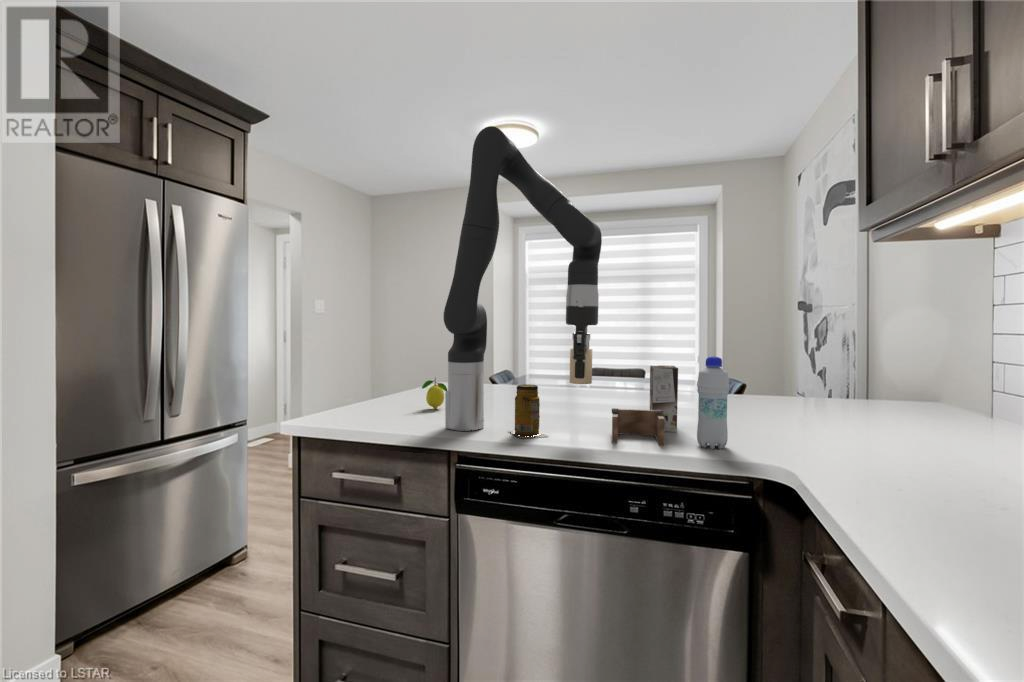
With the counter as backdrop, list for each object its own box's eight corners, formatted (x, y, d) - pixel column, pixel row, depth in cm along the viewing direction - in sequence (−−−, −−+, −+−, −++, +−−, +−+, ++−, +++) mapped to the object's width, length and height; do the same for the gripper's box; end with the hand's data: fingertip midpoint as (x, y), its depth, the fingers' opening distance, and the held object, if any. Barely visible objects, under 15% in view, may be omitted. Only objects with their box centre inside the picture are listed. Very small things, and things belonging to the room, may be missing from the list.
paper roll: (568, 383, 117) (569, 348, 117) (570, 381, 122) (571, 347, 122) (591, 384, 116) (591, 349, 116) (592, 382, 121) (593, 348, 121)
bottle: (727, 444, 114) (728, 355, 113) (729, 451, 107) (731, 357, 107) (695, 441, 116) (696, 355, 115) (696, 448, 110) (697, 357, 109)
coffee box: (678, 432, 126) (678, 368, 125) (651, 431, 127) (652, 367, 127) (673, 425, 135) (674, 365, 134) (648, 424, 136) (649, 364, 136)
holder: (611, 442, 115) (611, 412, 114) (611, 432, 126) (612, 404, 125) (665, 445, 112) (665, 414, 112) (661, 434, 123) (661, 406, 123)
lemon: (421, 410, 157) (421, 378, 156) (427, 407, 162) (427, 376, 162) (442, 411, 156) (442, 378, 155) (447, 407, 161) (447, 376, 161)
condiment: (534, 430, 129) (534, 383, 128) (548, 437, 121) (548, 387, 120) (507, 432, 126) (507, 384, 126) (520, 439, 118) (520, 388, 118)
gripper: (569, 305, 126) (567, 373, 127) (562, 303, 112) (561, 379, 113) (599, 306, 125) (597, 374, 125) (596, 304, 111) (595, 381, 111)
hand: (580, 376), depth 119 cm, fingers closed on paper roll, 5 cm apart
